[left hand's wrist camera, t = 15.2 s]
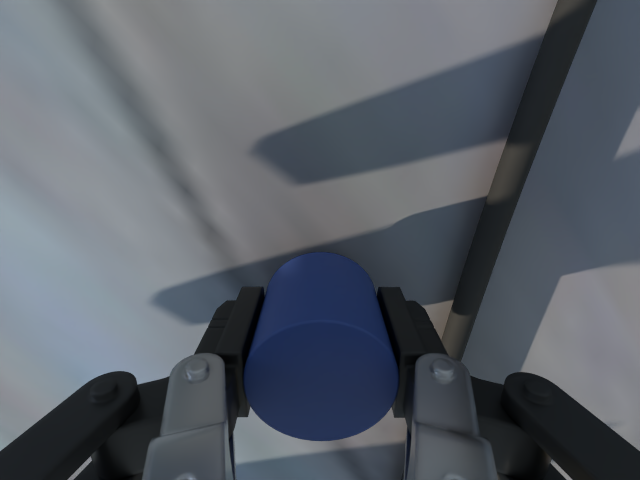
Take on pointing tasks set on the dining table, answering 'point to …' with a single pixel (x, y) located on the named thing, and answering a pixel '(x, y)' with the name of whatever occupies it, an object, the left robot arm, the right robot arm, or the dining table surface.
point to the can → (321, 351)
